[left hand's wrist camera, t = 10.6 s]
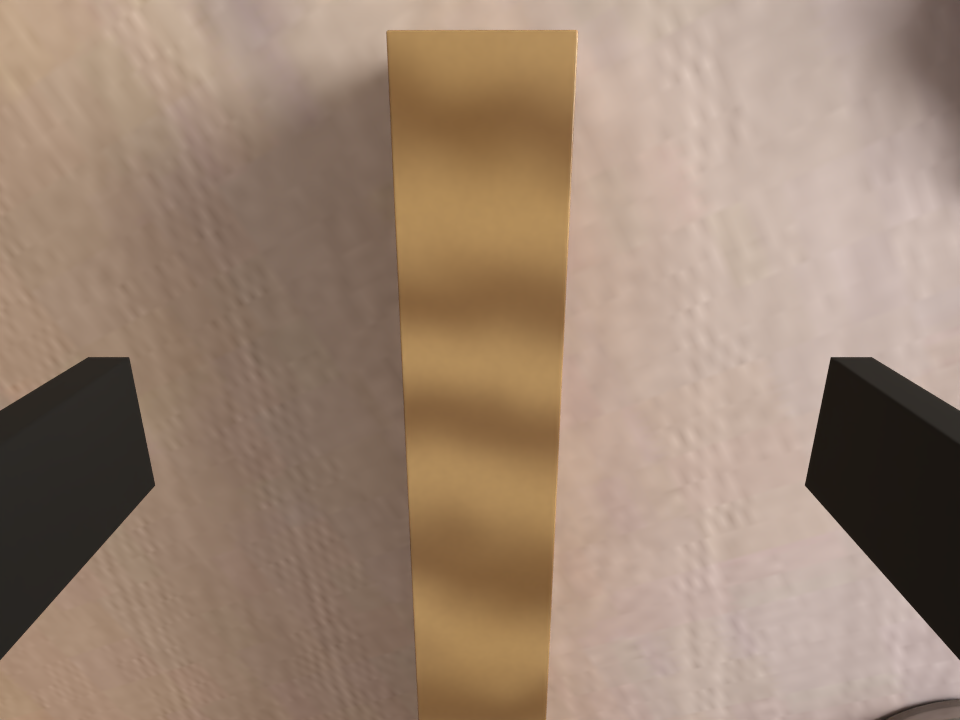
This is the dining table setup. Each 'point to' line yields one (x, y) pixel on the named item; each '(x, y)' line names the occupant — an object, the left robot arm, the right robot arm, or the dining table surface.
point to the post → (482, 351)
